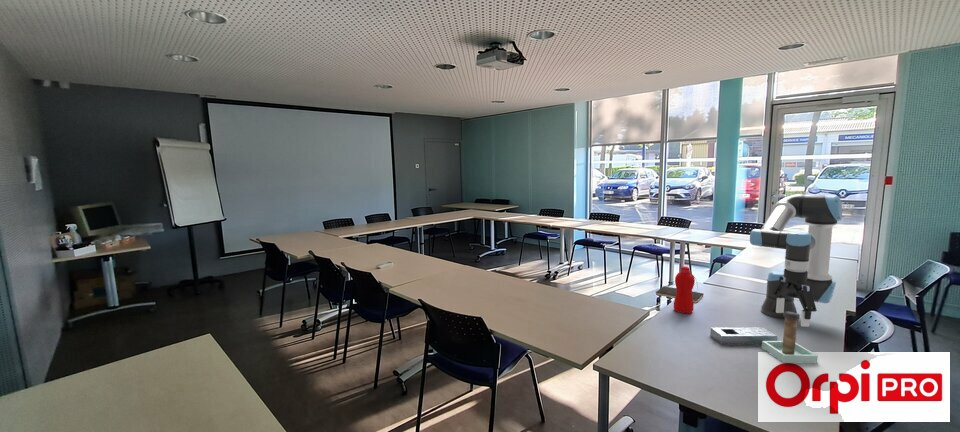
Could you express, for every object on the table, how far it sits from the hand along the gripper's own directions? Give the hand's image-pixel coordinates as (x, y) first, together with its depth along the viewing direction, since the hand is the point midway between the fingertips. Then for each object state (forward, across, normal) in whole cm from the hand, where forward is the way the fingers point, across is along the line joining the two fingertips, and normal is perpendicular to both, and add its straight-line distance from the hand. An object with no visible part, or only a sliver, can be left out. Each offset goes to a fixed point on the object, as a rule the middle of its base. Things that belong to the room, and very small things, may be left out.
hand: (791, 319), depth 158 cm
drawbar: (+16, -14, -10) cm, 23 cm away
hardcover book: (+17, -74, -11) cm, 77 cm away
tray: (+16, 0, 0) cm, 16 cm away
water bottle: (+16, -48, -20) cm, 55 cm away
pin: (+15, 0, -1) cm, 15 cm away
